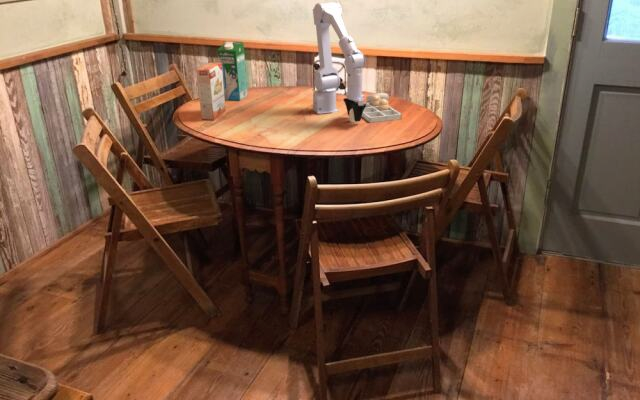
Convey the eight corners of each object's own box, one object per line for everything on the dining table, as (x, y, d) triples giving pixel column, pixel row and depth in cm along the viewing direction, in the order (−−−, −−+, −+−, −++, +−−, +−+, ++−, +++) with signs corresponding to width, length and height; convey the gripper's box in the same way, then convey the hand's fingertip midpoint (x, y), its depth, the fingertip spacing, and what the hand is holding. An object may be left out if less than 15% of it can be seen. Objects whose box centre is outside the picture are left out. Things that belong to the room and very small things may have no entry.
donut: (392, 92, 240) (381, 91, 232) (393, 100, 240) (382, 99, 232) (372, 97, 246) (361, 96, 238) (373, 104, 246) (362, 104, 238)
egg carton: (369, 123, 217) (370, 117, 216) (351, 110, 235) (351, 104, 234) (401, 120, 221) (401, 114, 220) (381, 106, 238) (381, 101, 237)
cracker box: (214, 120, 225) (209, 69, 215) (201, 119, 226) (195, 69, 217) (226, 110, 237) (222, 62, 228) (213, 110, 238) (208, 61, 229)
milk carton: (221, 99, 253) (216, 44, 242) (230, 94, 260) (225, 41, 249) (239, 101, 250) (235, 45, 239) (247, 95, 258) (243, 41, 247)
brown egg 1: (374, 110, 232) (374, 97, 229) (369, 107, 235) (369, 94, 232) (382, 108, 233) (382, 95, 230) (377, 105, 237) (377, 92, 233)
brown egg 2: (380, 114, 226) (381, 100, 224) (376, 112, 230) (377, 98, 227) (389, 113, 227) (390, 99, 225) (385, 111, 231) (386, 97, 228)
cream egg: (351, 124, 217) (351, 109, 215) (347, 121, 221) (347, 107, 218) (360, 123, 218) (360, 108, 216) (357, 120, 222) (357, 106, 219)
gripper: (371, 88, 208) (370, 122, 214) (357, 79, 220) (357, 112, 226) (354, 90, 206) (353, 124, 212) (341, 81, 218) (341, 114, 224)
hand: (354, 118), depth 219 cm, fingers open, 7 cm apart
